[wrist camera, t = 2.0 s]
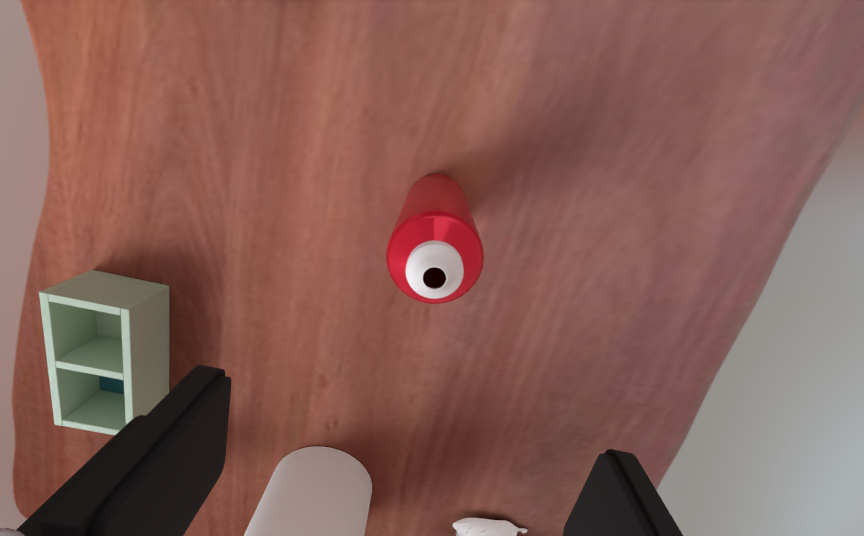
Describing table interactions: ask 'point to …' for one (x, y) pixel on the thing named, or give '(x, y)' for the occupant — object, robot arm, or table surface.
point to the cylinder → (314, 496)
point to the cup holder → (105, 349)
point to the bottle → (435, 243)
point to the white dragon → (486, 527)
